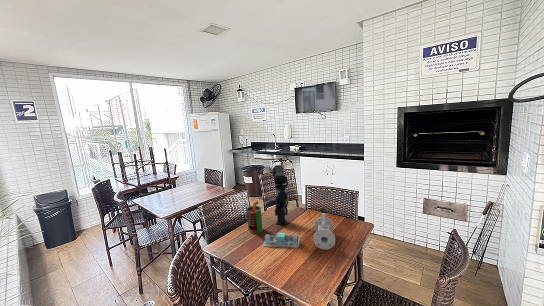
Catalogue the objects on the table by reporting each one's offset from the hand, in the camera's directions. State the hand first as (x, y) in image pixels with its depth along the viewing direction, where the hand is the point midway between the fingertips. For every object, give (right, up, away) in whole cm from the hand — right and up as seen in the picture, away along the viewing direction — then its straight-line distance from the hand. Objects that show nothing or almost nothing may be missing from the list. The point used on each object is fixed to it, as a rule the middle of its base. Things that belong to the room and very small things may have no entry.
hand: (282, 217), depth 139 cm
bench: (-1, -13, -8) cm, 15 cm away
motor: (-18, -12, +10) cm, 24 cm away
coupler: (-1, -12, -8) cm, 14 cm away
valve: (+25, -11, -6) cm, 28 cm away
